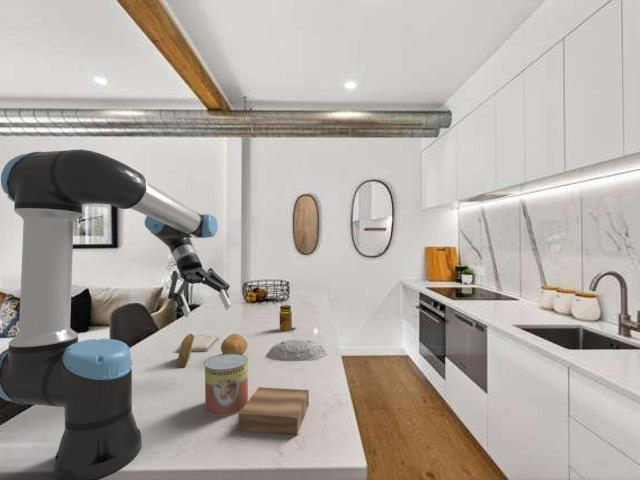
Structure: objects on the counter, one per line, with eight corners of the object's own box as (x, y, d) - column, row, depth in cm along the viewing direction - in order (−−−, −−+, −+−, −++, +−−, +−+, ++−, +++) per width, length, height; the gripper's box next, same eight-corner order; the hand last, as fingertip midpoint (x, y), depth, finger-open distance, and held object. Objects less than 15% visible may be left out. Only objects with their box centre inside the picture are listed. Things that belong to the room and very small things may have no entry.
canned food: (203, 419, 84) (203, 371, 84) (206, 398, 94) (205, 356, 94) (249, 412, 87) (248, 366, 87) (247, 393, 98) (246, 352, 97)
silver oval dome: (330, 359, 123) (329, 341, 124) (262, 365, 122) (261, 346, 123) (328, 350, 139) (327, 333, 139) (267, 354, 138) (266, 338, 138)
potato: (218, 365, 120) (217, 343, 120) (223, 352, 133) (223, 332, 133) (245, 363, 121) (245, 341, 121) (248, 351, 135) (248, 331, 135)
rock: (190, 362, 116) (205, 349, 126) (175, 343, 117) (191, 331, 126) (170, 378, 119) (187, 364, 129) (155, 359, 119) (173, 346, 129)
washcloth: (219, 339, 152) (219, 332, 152) (208, 353, 135) (208, 345, 135) (193, 340, 152) (193, 333, 152) (178, 353, 134) (178, 346, 134)
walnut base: (297, 435, 76) (297, 417, 76) (239, 430, 78) (238, 413, 78) (308, 404, 90) (308, 390, 90) (259, 401, 92) (258, 387, 92)
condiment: (276, 331, 163) (276, 306, 163) (284, 327, 171) (283, 303, 171) (289, 332, 161) (289, 307, 161) (297, 328, 169) (296, 304, 169)
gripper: (216, 265, 126) (239, 311, 116) (146, 271, 108) (165, 325, 98) (223, 252, 122) (247, 297, 112) (151, 255, 104) (172, 310, 94)
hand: (209, 310), depth 105 cm, fingers open, 13 cm apart
